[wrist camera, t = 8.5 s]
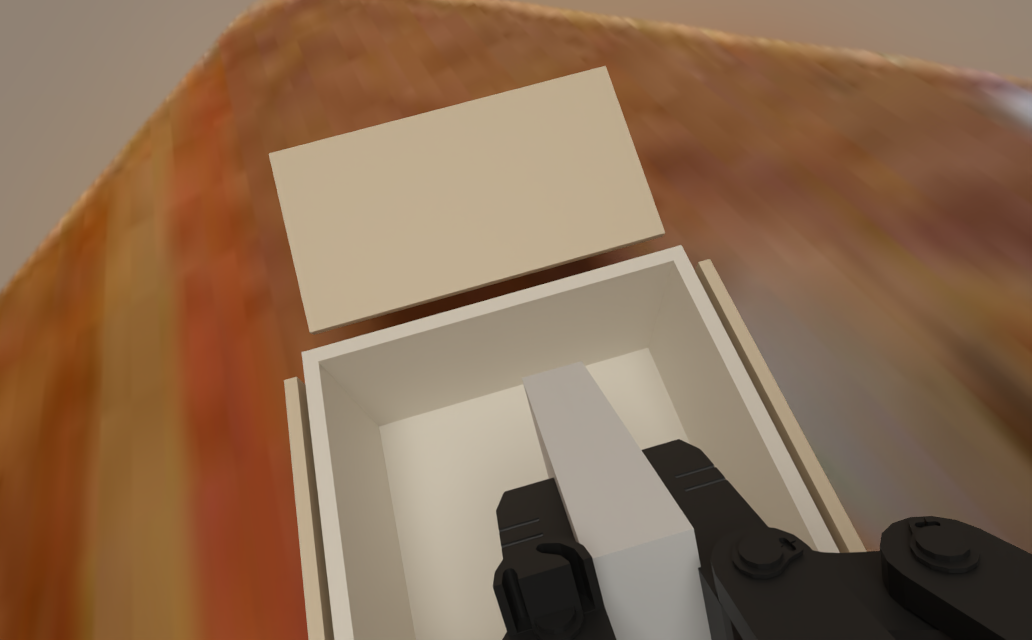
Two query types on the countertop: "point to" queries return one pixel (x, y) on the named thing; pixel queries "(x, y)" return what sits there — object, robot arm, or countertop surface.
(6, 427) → the countertop surface
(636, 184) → the flap
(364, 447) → the carton
